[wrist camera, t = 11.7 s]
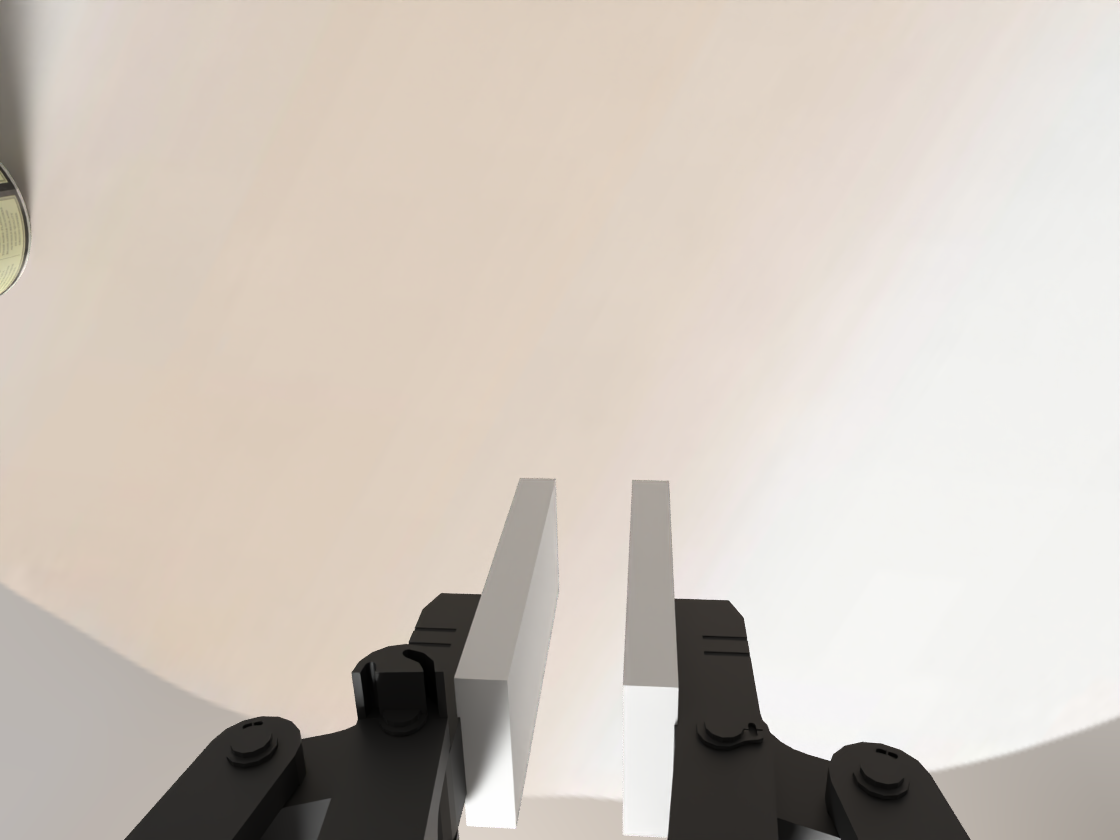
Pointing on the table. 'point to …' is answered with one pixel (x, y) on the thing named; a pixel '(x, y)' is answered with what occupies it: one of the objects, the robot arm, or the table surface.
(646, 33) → the table surface
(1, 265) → the coffee can
